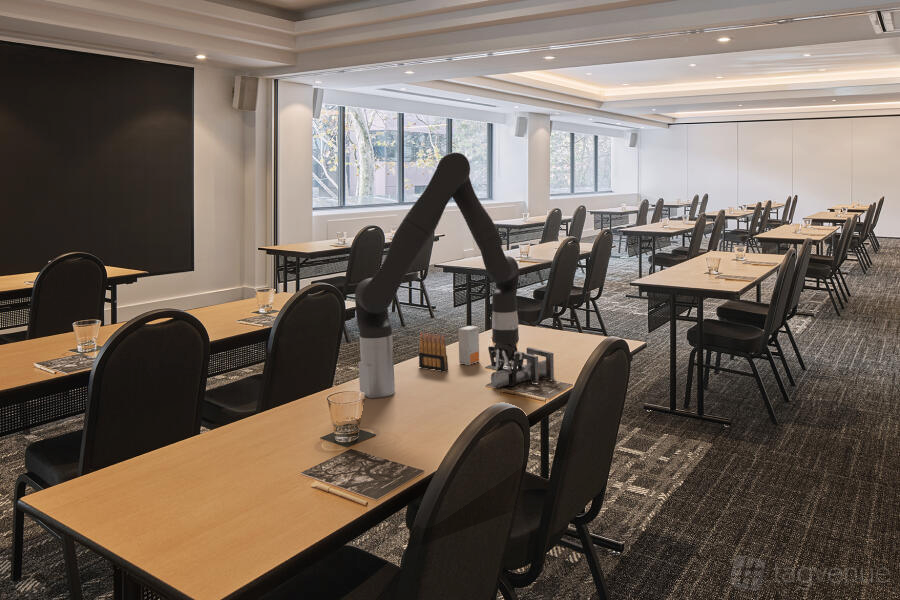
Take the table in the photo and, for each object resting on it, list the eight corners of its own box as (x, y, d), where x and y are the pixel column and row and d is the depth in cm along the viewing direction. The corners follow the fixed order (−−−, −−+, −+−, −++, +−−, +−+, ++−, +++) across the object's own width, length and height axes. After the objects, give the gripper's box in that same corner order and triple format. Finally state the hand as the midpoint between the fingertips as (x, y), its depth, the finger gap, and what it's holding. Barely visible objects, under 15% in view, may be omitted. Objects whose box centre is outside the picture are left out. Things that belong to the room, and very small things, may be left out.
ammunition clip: (419, 367, 240) (417, 331, 238) (422, 366, 241) (420, 330, 239) (444, 372, 233) (443, 335, 231) (448, 370, 235) (446, 333, 233)
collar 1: (535, 385, 214) (535, 357, 213) (512, 378, 223) (511, 351, 222) (538, 384, 215) (538, 356, 214) (515, 377, 224) (514, 350, 222)
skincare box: (469, 366, 239) (468, 330, 237) (458, 364, 242) (457, 328, 240) (480, 362, 244) (478, 326, 242) (469, 360, 247) (468, 325, 245)
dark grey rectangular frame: (550, 381, 218) (550, 353, 216) (527, 374, 226) (526, 347, 225) (553, 380, 218) (553, 353, 217) (530, 373, 227) (529, 347, 226)
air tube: (501, 389, 211) (500, 373, 210) (491, 386, 215) (490, 370, 214) (552, 376, 222) (552, 361, 221) (542, 373, 226) (541, 358, 225)
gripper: (479, 324, 216) (481, 381, 219) (511, 331, 204) (512, 391, 207) (499, 321, 220) (501, 376, 223) (531, 327, 209) (532, 386, 211)
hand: (506, 383), depth 215 cm, fingers closed on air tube, 4 cm apart
